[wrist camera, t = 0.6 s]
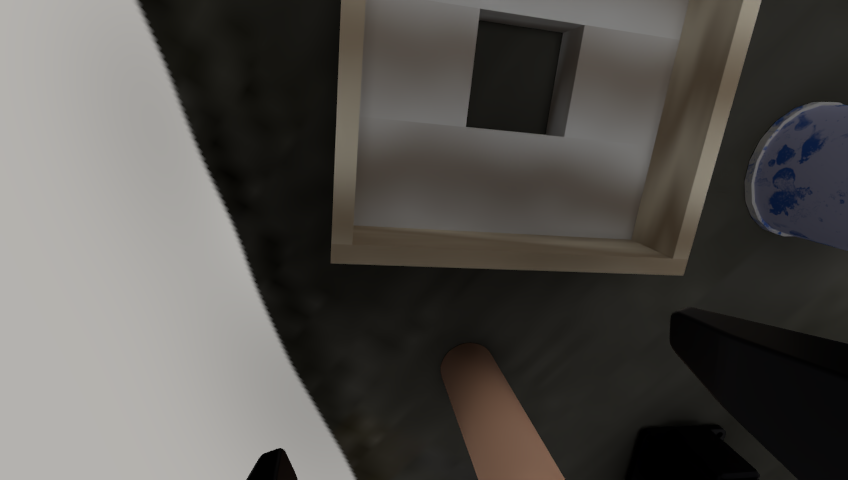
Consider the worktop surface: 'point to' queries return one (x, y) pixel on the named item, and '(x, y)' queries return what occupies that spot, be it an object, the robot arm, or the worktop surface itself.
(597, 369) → the worktop surface
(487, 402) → the peg
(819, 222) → the aerosol can
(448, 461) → the worktop surface
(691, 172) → the tray
